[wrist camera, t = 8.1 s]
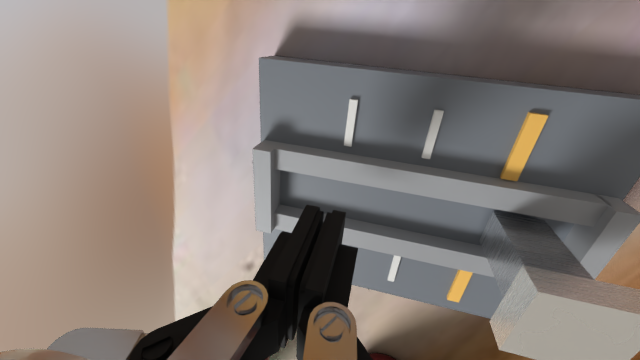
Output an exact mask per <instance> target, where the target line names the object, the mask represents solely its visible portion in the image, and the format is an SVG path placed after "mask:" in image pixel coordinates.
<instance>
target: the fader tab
mask: <svg viewBox="0 0 640 360" xmlns="http://www.w3.org/2000/svg"><path fill="white" fill-rule="evenodd" d="M479 242H480V244H481V246H482V249H483V251H484V253H485V256H486V258H487V260H488V263H489V265H490V267H491V270H492V272H493V275H494V277H495V279H496V282H497V284H498V286H499V289H500V291H501V293H502V296H503V299H502V301H501V303H500V304H499V306H498V308H497V309H496V311H495V313H494V314H493V316H492V318H491V320H490V321H489V322H490V325H491V328H492V330H493V333H494V336H495V339H496V342H497V345H498V348H499V350H501V351H505V352H509V353H513V354H517V355H520V356H524V357H528V358H532V359H536V360H630V359H631V358H632V357H633V356H634V355H635V354H637V353H638V352H639V351H640V290H639V289H634V288H629V287H624V286H620V285H615V284H610V283H605V282H601V281H596V280H594V279H593V278H592V276H591V275H590V274H589V273H588V272H587V270H586V269H585V268H584V267H583V266H582V264H581V263H580V262H579V261H578V260H577V258H576V257H575V256H574V255H573V254H572V252H571V251H570V250H569V249H568V248H567V246H566V245H565V244H564V243H563V242H562V240H561V239H560V238H559V237H558V236H557V234H556V233H555V232H554V231H553V230H552V228H551V227H550V226H549V225H548V224H547V223H546V221H545V220H540V219H535V218H529V217H524V216H518V215H513V214H507V213H502V212H496V211H493V212H492V214H491V216H490V218H489V221H488V223H487V225H486V227H485V229H484V231H483V234H482V236H481V238H480V240H479Z"/></svg>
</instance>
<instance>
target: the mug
mask: <svg viewBox="0 0 640 360" xmlns="http://www.w3.org/2000/svg"><path fill="white" fill-rule="evenodd" d="M369 355H370V356H371V357H372V359H373V360H396V359H394V358H392V357H390V356H388V355H384V354H379V353H373V354H369Z"/></svg>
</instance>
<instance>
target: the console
mask: <svg viewBox="0 0 640 360" xmlns="http://www.w3.org/2000/svg"><path fill="white" fill-rule="evenodd" d="M259 82H260V122H261V143H260V144H258V145H257V146H256V147H254V148H253V173H254V197H255V221H256V230H257V231H262V232H263V241H264V260H265V258H266V257H267V255H268V253H269V251H270V250H271V248H272V246H273V244H274V243H275V241H276V239H277V238H278V236H279V234H280V233H281V232H282V231H285V232H289V233H292V231H293V229H294V227H295V226H296V224H297V222H298V220H299V218H300V216H301V214H302V212H303V210H304V208H305V206H306V205H312V206H317V207H320V211H324V219H323V222H324V220H325V217H326V214H327V212H329V213H332V211H333V210H337V211H342V212H346V218H345V225H344V232H343V239H342V244H343V245H347V246H351V247H356V248H358V252H357V258H356V263H355V269H354V274H353V280H352V285H355V286H359V287H363V288H367V289H371V290H376V291H380V292H384V293H388V294H392V295H396V296H400V297H404V298H408V299H412V300H416V301H420V302H424V303H428V304H432V305H437V306H441V307H445V308H449V309H453V310H457V311H461V312H465V313H469V314H473V315H477V316H481V317H485V318H489V319H491V318H492V316H493V314H494V313H495V311H496V309H497V308H498V306H499V304H500V303H501V301H502V299H503V296H502V293H501V291H500V289H499V286H498V284H497V282H496V279H495V277H494V275H493V272H492V270H491V267H490V265H489V263H488V260H487V258H486V256H485V253H484V251H483V249H482V246H481V244H480V242H479V240H480V238H481V236H482V234H483V231H484V229H485V227H486V225H487V223H488V221H489V218H490V216H491V214H492V212H493V211H496V212H502V213H507V214H513V215H518V216H524V217H529V218H535V219H540V220H545V221H546V223H547V224H548V225H549V226H550V227H551V228H552V230H553V231H554V232H555V233H556V234H557V236H558V237H559V238H560V239H561V240H562V242H563V243H564V244H565V245H566V246H567V248H568V249H569V250H570V251H571V252H572V254H573V255H574V256H575V257H576V258H577V260H578V261H579V262H580V263H581V264H582V266H583V267H584V268H585V269H586V270H587V272H588V273H589V274H590V275H591V276H592V278H593V279H594V280H595V278H596V277H597V276H598V275H599V273H600V272H601V271H602V269H603V268H604V267H605V266H606V264H607V263H608V262H609V261H610V259H611V258H612V257H613V256H614V254H615V253H616V252H617V250H618V249H619V248H620V247H621V245H622V244H623V243H624V242H625V240H626V239H627V238H628V237H629V235H630V234H631V233H632V231H633V230H634V229H635V228H636V226H637V225H638V224H639V223H640V213H639V212H638V211H636V210H635V209H634V208H632V207H631V206H629V205H628V204H626V203H625V202H624V201H623V199H624V198H625V196H626V195H627V194H628V192H629V191H630V190H631V188H632V187H633V185H634V184H635V183H636V181H637V180H638V178H639V177H640V95H635V94H625V93H616V92H607V91H597V90H588V89H579V88H570V87H560V86H551V85H542V84H532V83H523V82H514V81H504V80H495V79H486V78H477V77H467V76H458V75H449V74H439V73H430V72H421V71H412V70H402V69H393V68H384V67H374V66H365V65H356V64H346V63H337V62H328V61H319V60H309V59H300V58H291V57H281V56H268V57H261V58H259Z"/></svg>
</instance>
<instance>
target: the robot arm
mask: <svg viewBox="0 0 640 360" xmlns="http://www.w3.org/2000/svg"><path fill="white" fill-rule="evenodd" d="M345 218H346V212H342V211H337V210H333V211H332V213H329V212H327V214H326V217H325V220H324V222H323V219H324V211H320V207H317V206H312V205H306V206H305V208H304V210H303V212H302V214H301V216H300V218H299V220H298V222H297V224H296V226H295V227H294V229H293V231H292V233H289V232H285V231H282V232H281V233H280V234H279V236H278V238H277V239H276V241H275V243H274V244H273V246H272V248H271V250H270V251H269V253H268V255H267V257H266V258H265V260H264V262H263V264H262V265H261V267H260V269H259V271H258V272H257V274H256V276H255V278H254V279H253V281H252V280H249V281H241V282H238V283H236V284H234V285H232V286H231V287H230V288H229V289H228V290H226V292H225V293H224V294H223V295H222V296H221V297H220V299H219V300H218V301H217V302H216V303H215V304H214V306H212V307H210V308H207V309H205V310H202V311H200V312H197V313H195V314H193V315H190V316H188V317H185V318H183V319H180V320H178V321H175V322H173V323H171V324H168V325H166V326H163V327H161V328H158V329H156V330H154V331H152V332H150V333H144V332H143V330H127V329H103V328H80V329H75V330H72V331H70V332H68V333H66V334H64V335H63V336H61V337H59V338H58V339H57V340H55V341H54V342H53V343H52V344H51V345H50V346H49V347H48V348H47V349H16V350H9V351H2V352H0V360H269V358H270V356H271V355H273V354H275V353H277V352H278V351H279V349H280V347H283V348H285V346H286V343H287V341H288V339H290V340H293V339H294V336H295V333H296V330H297V355H296V357H297V359H298V360H373V359H372V357H371V356H370V355H369V353H368V352H367V350H366V349H365V347H364V346H363V345H362V343H361V342H360V340H359V339H358V337H357V329H356V321H355V318H354V316H353V314H352V313H351V312H350V310H349V309H348V302H349V296H350V291H351V285H352V280H353V274H354V269H355V263H356V258H357V252H358V248H356V247H351V246H347V245H343V244H342V239H343V232H344V225H345Z"/></svg>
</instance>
